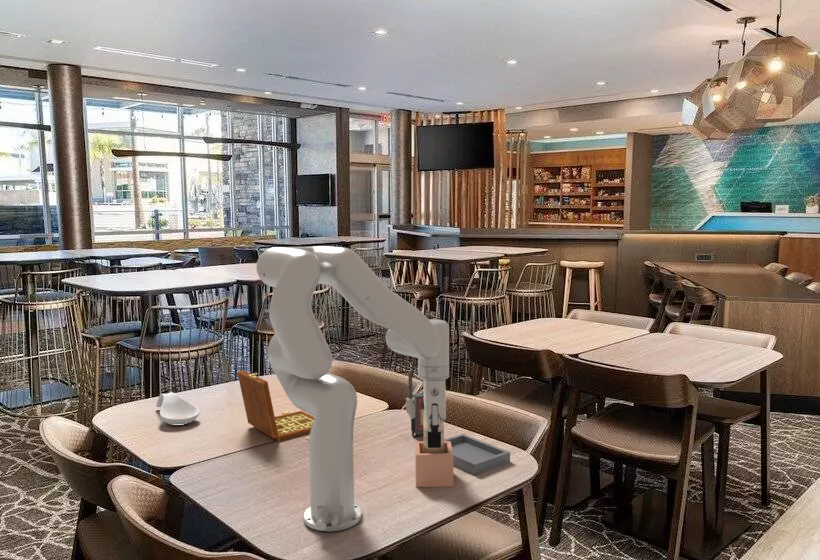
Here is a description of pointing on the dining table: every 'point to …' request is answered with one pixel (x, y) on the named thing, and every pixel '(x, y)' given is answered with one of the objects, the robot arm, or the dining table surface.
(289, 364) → the robot arm
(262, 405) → the game set
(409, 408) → the walkie-talkie
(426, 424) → the birch dowel
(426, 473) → the terracotta box
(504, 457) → the charcoal tray
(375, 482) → the dining table surface
